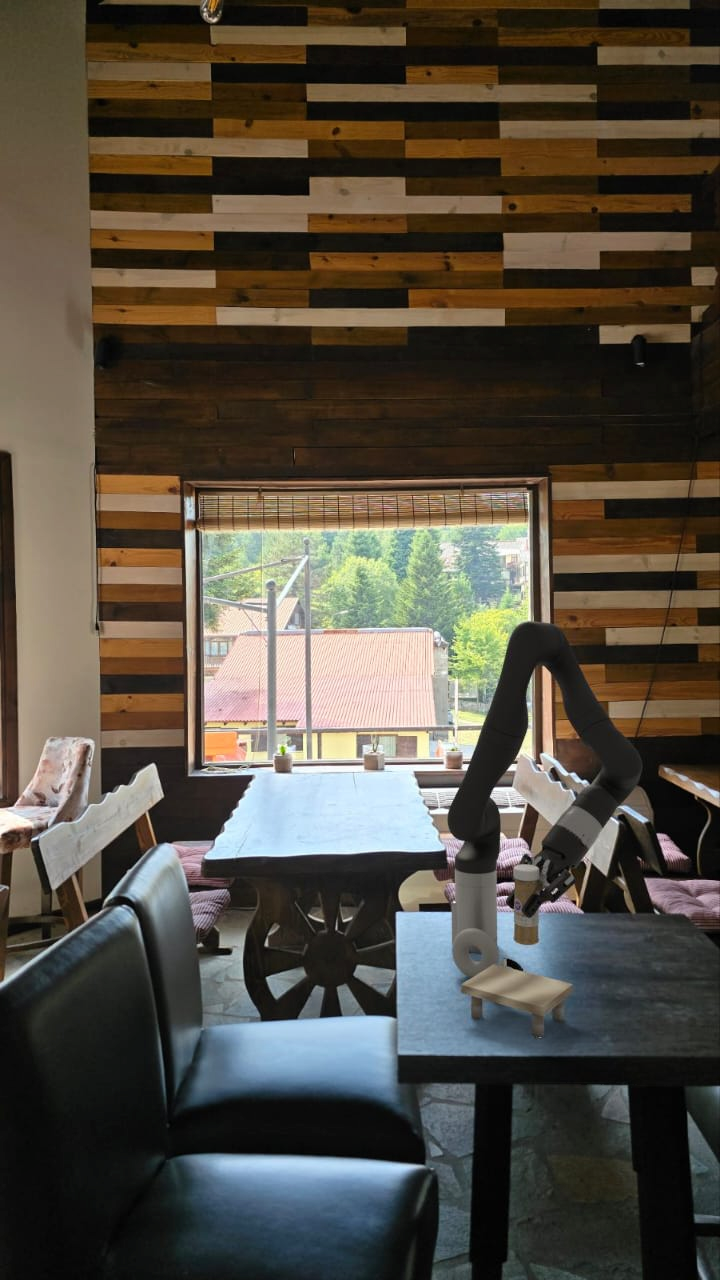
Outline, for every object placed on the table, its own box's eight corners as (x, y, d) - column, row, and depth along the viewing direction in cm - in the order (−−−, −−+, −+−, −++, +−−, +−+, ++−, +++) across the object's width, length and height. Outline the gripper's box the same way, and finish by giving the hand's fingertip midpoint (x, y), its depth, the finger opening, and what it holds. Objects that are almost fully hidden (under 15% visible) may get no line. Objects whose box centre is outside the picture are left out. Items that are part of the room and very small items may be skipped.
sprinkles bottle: (508, 941, 150) (508, 866, 150) (523, 935, 153) (523, 862, 153) (529, 948, 146) (529, 872, 146) (544, 941, 149) (544, 867, 149)
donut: (502, 980, 166) (501, 930, 166) (495, 986, 163) (494, 935, 163) (456, 970, 171) (456, 922, 171) (449, 976, 168) (448, 927, 169)
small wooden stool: (461, 1018, 150) (461, 984, 150) (494, 995, 159) (493, 964, 159) (543, 1043, 140) (543, 1007, 140) (573, 1017, 149) (572, 984, 149)
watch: (496, 968, 173) (496, 951, 173) (519, 968, 173) (519, 951, 173) (503, 984, 165) (503, 965, 165) (527, 983, 165) (526, 965, 165)
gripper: (537, 815, 159) (483, 886, 154) (585, 831, 146) (527, 909, 141) (559, 840, 161) (507, 911, 156) (609, 858, 148) (553, 936, 143)
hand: (517, 910), depth 149 cm, fingers closed on sprinkles bottle, 4 cm apart
